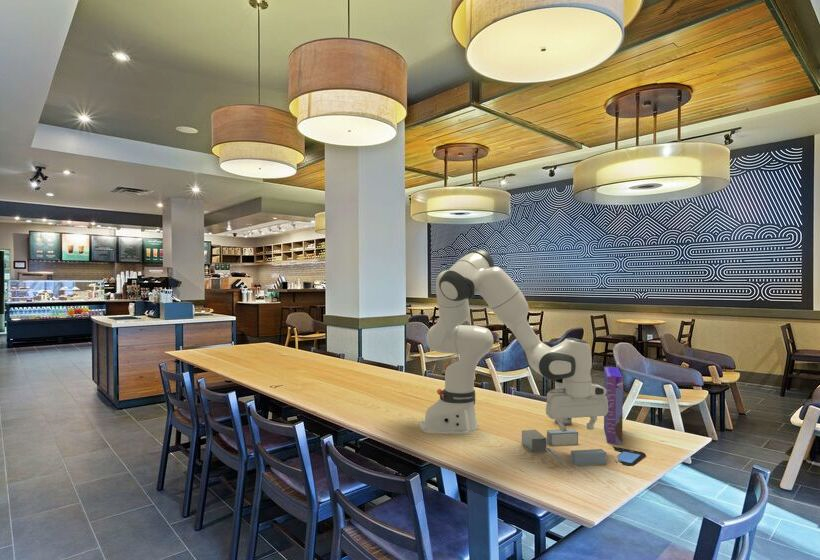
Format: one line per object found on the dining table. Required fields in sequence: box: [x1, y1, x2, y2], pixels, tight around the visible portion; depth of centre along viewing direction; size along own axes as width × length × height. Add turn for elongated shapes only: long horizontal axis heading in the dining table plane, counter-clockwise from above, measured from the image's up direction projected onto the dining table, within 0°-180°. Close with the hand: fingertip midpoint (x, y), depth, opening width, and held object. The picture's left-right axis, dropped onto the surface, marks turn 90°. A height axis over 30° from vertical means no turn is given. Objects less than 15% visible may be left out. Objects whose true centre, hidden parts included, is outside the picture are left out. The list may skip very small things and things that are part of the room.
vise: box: [547, 447, 607, 466], centre depth 141 cm, size 12×14×5 cm
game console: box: [612, 445, 647, 467], centre depth 142 cm, size 14×13×2 cm
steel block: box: [521, 429, 548, 454], centre depth 148 cm, size 5×8×6 cm, turn 10°
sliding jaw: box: [546, 428, 579, 446], centre depth 154 cm, size 10×7×5 cm
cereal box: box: [603, 365, 624, 445], centre depth 161 cm, size 17×5×24 cm, turn 160°
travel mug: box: [554, 379, 573, 426], centre depth 175 cm, size 6×7×20 cm
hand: (576, 430), depth 144 cm, fingers open, 8 cm apart
